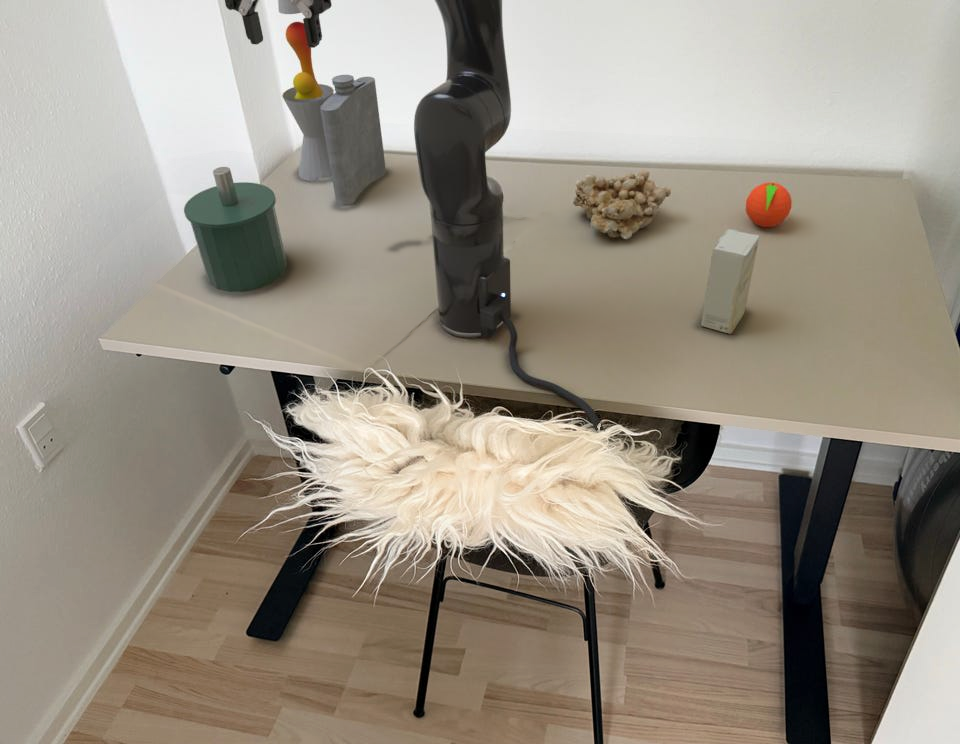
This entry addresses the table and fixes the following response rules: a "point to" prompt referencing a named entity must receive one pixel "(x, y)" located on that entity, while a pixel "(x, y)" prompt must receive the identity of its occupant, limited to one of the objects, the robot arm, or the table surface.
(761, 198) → the clementine
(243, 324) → the table surface
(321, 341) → the table surface
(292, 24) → the lava lamp
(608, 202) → the mineral formation
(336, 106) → the hip flask
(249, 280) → the open teal cylindrical container
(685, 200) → the table surface
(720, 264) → the cosmetic box
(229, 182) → the teal disc with peg
